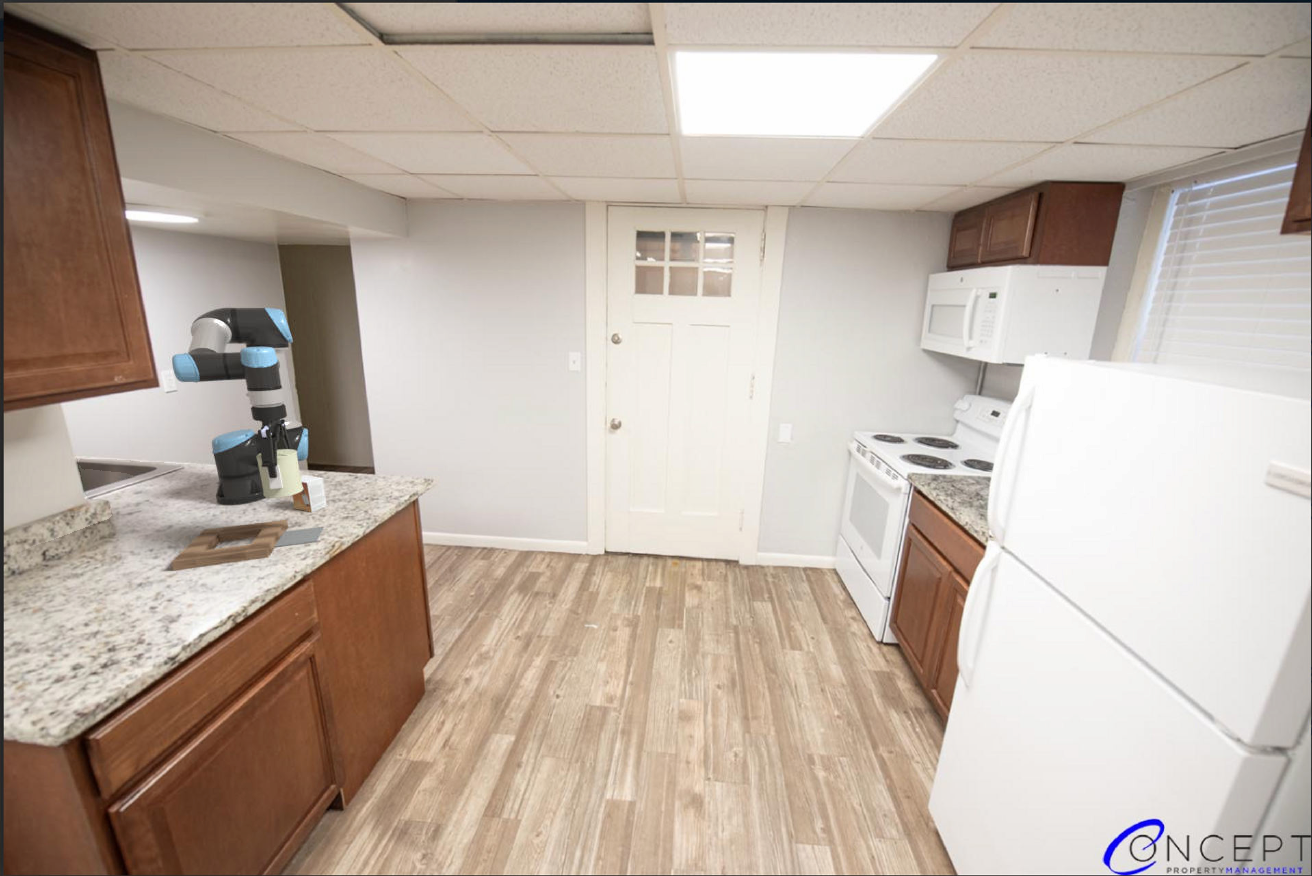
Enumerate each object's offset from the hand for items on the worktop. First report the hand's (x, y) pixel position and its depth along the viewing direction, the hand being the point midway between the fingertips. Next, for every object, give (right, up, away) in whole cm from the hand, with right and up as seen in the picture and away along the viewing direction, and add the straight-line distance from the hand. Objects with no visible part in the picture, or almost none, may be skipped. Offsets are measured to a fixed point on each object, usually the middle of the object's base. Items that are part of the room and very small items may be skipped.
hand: (282, 482), depth 141 cm
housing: (-12, -18, -1) cm, 22 cm away
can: (0, -3, +1) cm, 3 cm away
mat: (+1, -17, +6) cm, 18 cm away
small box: (-10, -11, +26) cm, 30 cm away
